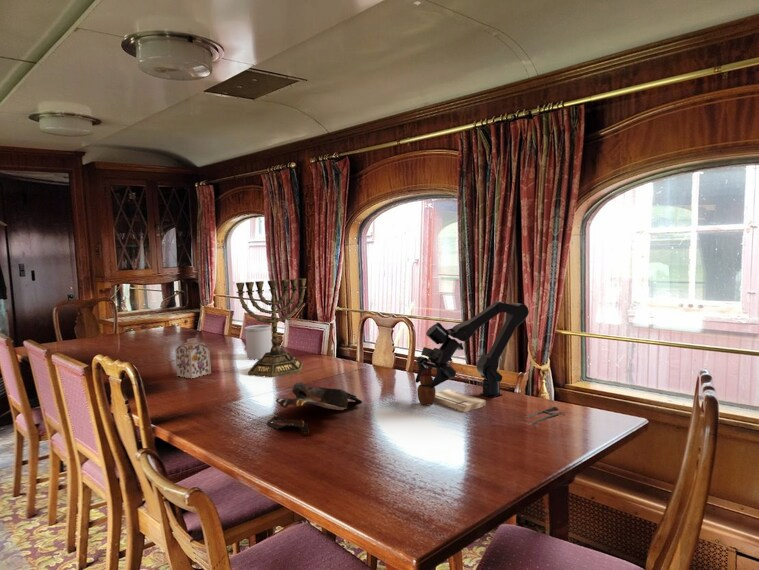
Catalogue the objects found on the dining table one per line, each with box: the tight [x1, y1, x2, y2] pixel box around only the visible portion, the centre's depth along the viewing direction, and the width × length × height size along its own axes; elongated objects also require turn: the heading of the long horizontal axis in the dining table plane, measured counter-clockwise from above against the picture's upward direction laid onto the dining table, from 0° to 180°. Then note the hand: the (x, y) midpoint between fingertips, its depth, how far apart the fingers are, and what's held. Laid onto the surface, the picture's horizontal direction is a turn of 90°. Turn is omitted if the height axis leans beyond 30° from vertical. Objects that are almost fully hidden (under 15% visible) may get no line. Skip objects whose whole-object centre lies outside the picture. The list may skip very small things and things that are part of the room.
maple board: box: [434, 388, 487, 413], centre depth 192 cm, size 11×20×2 cm, turn 36°
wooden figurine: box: [416, 365, 437, 406], centre depth 191 cm, size 7×6×15 cm
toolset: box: [266, 381, 363, 436], centre depth 183 cm, size 40×20×27 cm
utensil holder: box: [243, 324, 273, 360], centre depth 286 cm, size 15×15×18 cm
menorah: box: [235, 278, 307, 378], centre depth 252 cm, size 36×25×45 cm
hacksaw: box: [516, 406, 566, 431], centre depth 172 cm, size 24×10×2 cm, turn 121°
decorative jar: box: [174, 337, 212, 380], centre depth 248 cm, size 12×12×18 cm
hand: (423, 384), depth 191 cm, fingers open, 9 cm apart
